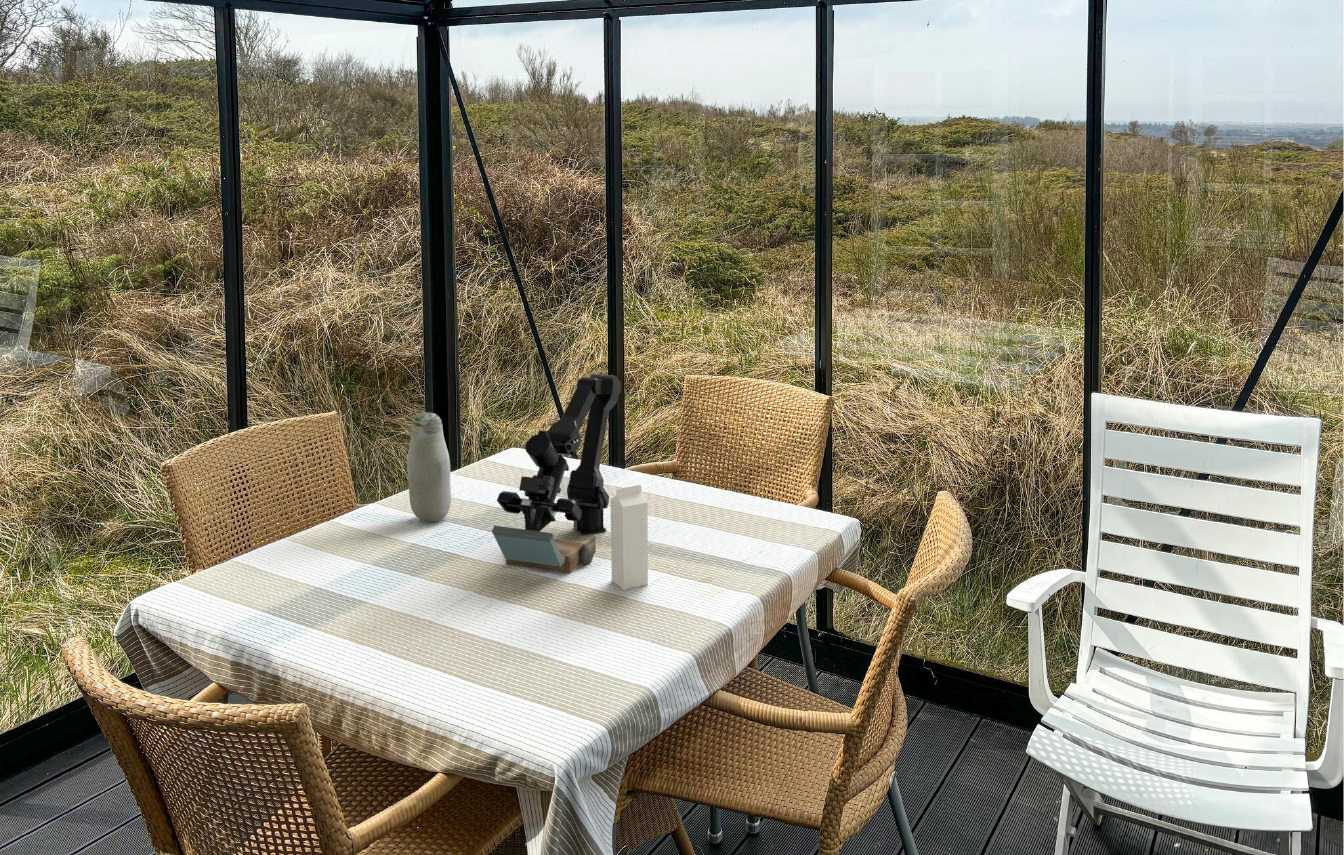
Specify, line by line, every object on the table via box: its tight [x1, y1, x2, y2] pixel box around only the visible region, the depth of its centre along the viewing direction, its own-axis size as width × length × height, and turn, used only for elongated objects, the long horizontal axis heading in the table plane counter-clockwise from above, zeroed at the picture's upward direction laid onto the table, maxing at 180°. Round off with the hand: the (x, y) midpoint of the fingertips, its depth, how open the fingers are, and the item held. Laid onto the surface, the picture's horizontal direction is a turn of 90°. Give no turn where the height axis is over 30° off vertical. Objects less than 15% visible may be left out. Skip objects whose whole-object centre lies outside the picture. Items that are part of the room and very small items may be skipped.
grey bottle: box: [406, 411, 452, 523], centre depth 288 cm, size 10×10×28 cm
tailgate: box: [491, 525, 564, 567], centre depth 254 cm, size 2×14×10 cm
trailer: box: [505, 535, 597, 575], centre depth 265 cm, size 14×19×4 cm
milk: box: [610, 484, 649, 591], centre depth 249 cm, size 6×6×22 cm
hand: (527, 540), depth 254 cm, fingers closed, pressing on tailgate
